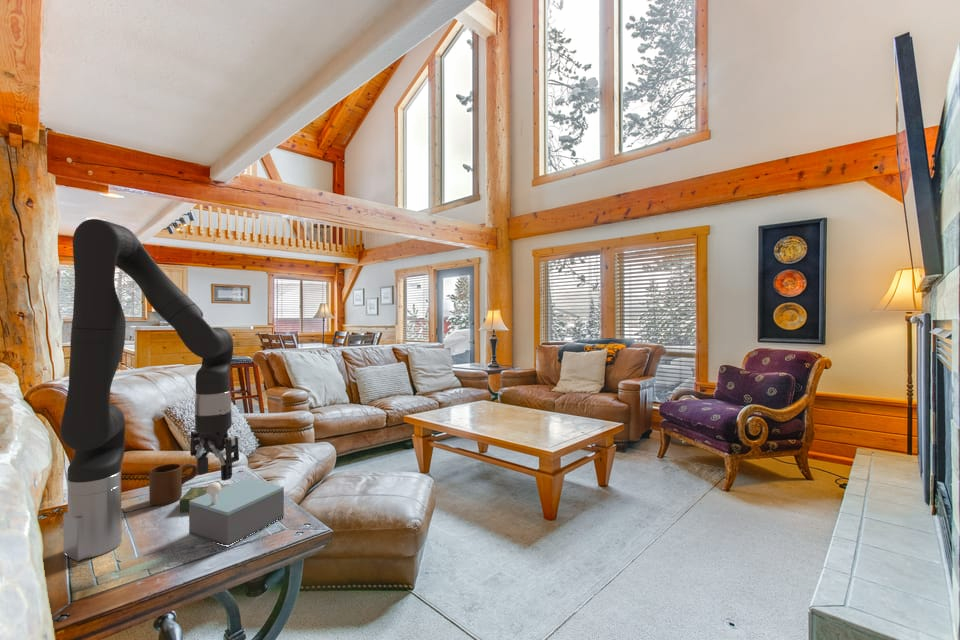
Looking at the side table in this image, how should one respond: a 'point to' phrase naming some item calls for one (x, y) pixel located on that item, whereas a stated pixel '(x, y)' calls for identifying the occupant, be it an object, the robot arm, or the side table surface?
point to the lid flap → (235, 495)
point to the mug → (168, 482)
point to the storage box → (235, 520)
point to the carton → (192, 497)
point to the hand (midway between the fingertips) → (214, 476)
